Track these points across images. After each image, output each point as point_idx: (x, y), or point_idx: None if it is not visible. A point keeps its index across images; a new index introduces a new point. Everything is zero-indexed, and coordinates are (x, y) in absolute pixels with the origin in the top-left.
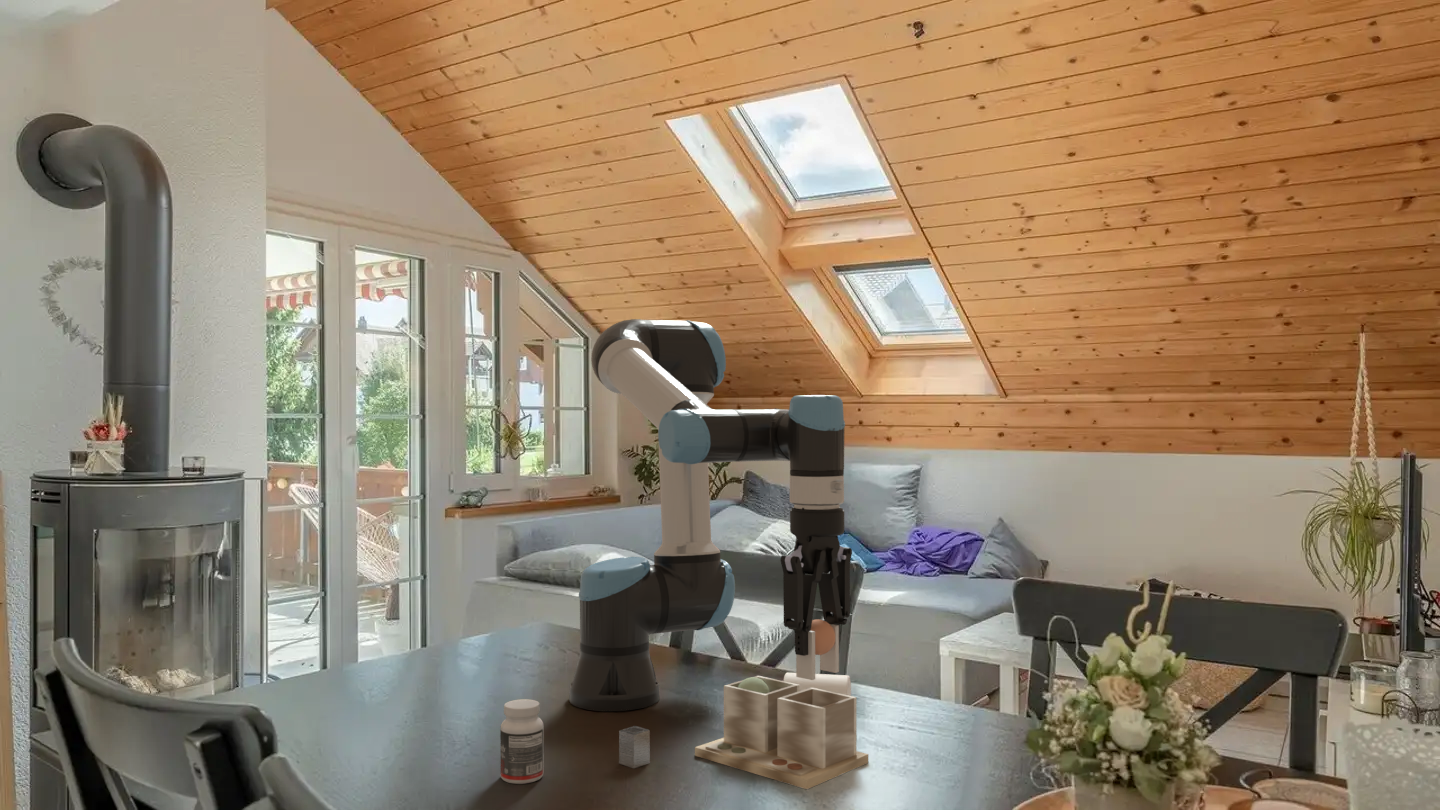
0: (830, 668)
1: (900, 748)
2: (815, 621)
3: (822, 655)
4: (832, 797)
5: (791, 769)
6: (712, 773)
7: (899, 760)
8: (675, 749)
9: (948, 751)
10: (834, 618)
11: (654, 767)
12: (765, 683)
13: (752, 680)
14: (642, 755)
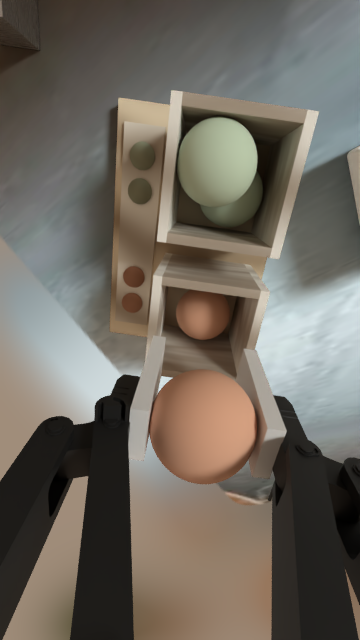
0: (237, 378)
1: (320, 355)
2: (184, 465)
3: (247, 373)
4: (111, 359)
5: (121, 303)
6: (77, 187)
7: (270, 370)
8: (128, 36)
9: (333, 403)
10: (278, 486)
11: (32, 76)
12: (235, 190)
13: (204, 169)
14: (11, 38)
